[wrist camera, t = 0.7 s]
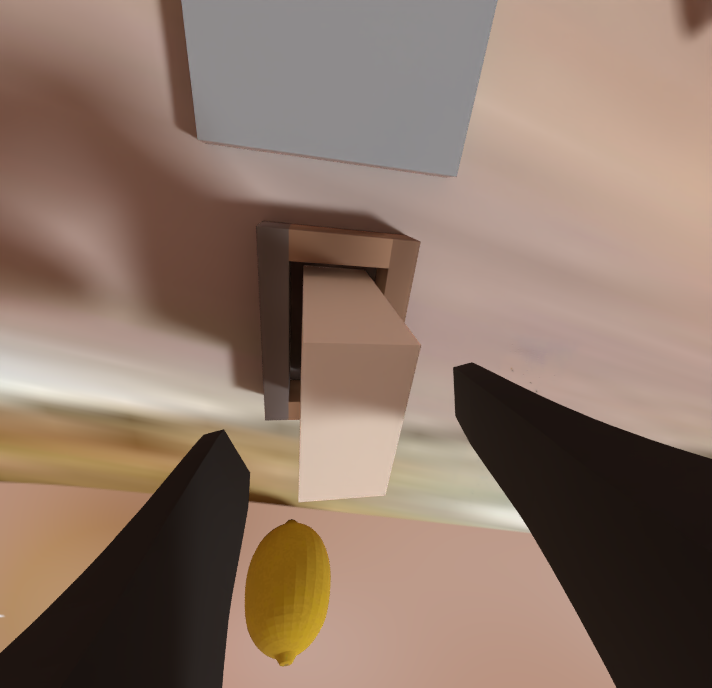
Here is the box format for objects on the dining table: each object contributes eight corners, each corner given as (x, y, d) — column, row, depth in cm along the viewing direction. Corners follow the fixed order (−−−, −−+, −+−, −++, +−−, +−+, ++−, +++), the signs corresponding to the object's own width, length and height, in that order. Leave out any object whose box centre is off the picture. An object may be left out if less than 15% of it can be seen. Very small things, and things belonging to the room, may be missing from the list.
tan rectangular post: (364, 269, 14) (421, 345, 7) (352, 370, 17) (385, 495, 10) (303, 265, 14) (302, 342, 7) (300, 370, 17) (298, 502, 10)
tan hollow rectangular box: (405, 235, 14) (420, 241, 12) (377, 395, 18) (385, 417, 17) (262, 221, 13) (256, 226, 11) (269, 396, 17) (265, 420, 15)
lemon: (253, 542, 23) (231, 691, 16) (256, 498, 21) (233, 651, 14) (321, 539, 25) (327, 676, 18) (331, 497, 22) (344, 637, 15)
